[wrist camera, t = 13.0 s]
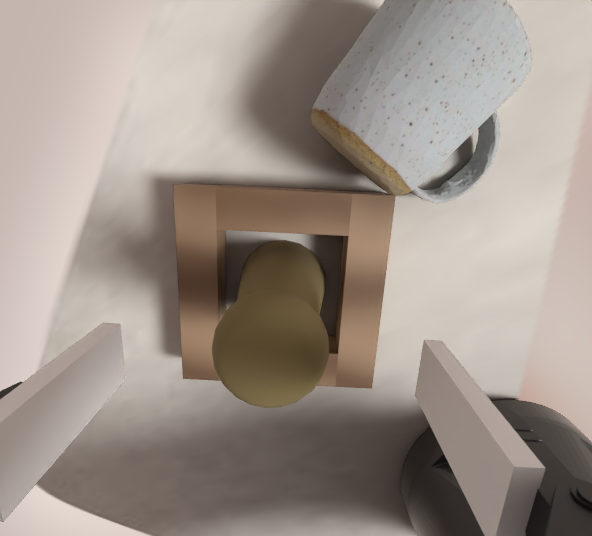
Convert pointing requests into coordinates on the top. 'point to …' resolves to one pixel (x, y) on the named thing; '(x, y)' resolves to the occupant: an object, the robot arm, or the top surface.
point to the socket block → (283, 219)
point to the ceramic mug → (424, 91)
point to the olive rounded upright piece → (274, 328)
